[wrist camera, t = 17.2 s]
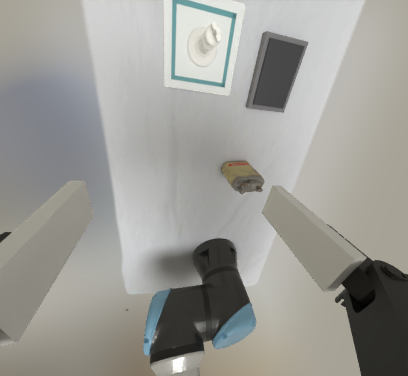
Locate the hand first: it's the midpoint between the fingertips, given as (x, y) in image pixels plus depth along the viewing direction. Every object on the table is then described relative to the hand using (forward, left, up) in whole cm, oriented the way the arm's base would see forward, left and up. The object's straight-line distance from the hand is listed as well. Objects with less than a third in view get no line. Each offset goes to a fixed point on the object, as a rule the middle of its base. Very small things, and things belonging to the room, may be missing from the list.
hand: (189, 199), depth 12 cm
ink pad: (+11, -18, -24) cm, 32 cm away
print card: (+13, -4, -24) cm, 28 cm away
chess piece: (+13, -4, -24) cm, 27 cm away
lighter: (-8, -15, -24) cm, 30 cm away
